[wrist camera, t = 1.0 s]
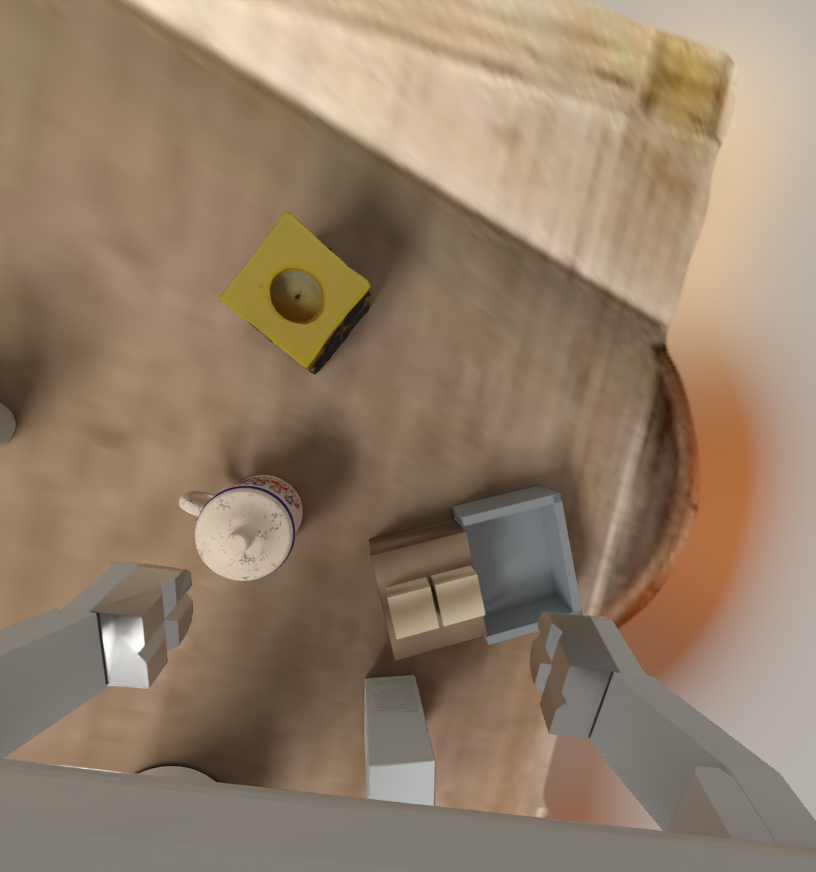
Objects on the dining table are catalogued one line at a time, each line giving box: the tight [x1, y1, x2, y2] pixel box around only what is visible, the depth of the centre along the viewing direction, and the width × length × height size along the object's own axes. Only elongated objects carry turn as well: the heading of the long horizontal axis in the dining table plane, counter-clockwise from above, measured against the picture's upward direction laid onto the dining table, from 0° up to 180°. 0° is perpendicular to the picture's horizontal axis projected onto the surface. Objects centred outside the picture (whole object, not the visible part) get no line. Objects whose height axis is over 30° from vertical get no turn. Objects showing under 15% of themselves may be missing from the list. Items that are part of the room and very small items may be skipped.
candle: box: [219, 212, 371, 374], centre depth 43 cm, size 10×10×10 cm
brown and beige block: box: [369, 519, 487, 661], centre depth 48 cm, size 12×10×6 cm
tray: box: [452, 485, 583, 645], centre depth 50 cm, size 15×12×5 cm
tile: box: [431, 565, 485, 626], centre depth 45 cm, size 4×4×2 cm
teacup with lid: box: [179, 475, 303, 581], centre depth 42 cm, size 12×9×12 cm
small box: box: [364, 675, 435, 806], centre depth 45 cm, size 8×6×13 cm
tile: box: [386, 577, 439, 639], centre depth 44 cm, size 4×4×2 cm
